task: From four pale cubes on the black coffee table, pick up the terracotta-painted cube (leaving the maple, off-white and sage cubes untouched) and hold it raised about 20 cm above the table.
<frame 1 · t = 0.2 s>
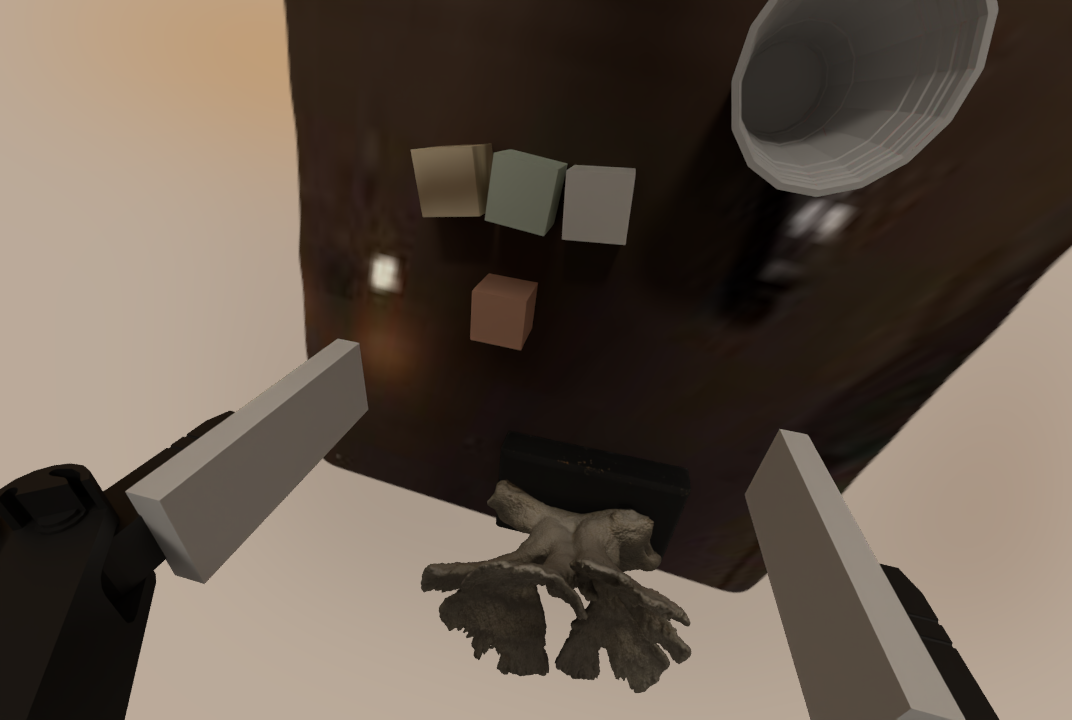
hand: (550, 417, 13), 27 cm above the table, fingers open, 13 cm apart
sage cube: (533, 187, 36), on the table
offwhite cube: (601, 198, 35), on the table
coral: (579, 466, 51), on the table
maple cube: (468, 176, 37), on the table
plastic cup: (779, 91, 29), on the table
terracotta cube: (511, 301, 42), on the table
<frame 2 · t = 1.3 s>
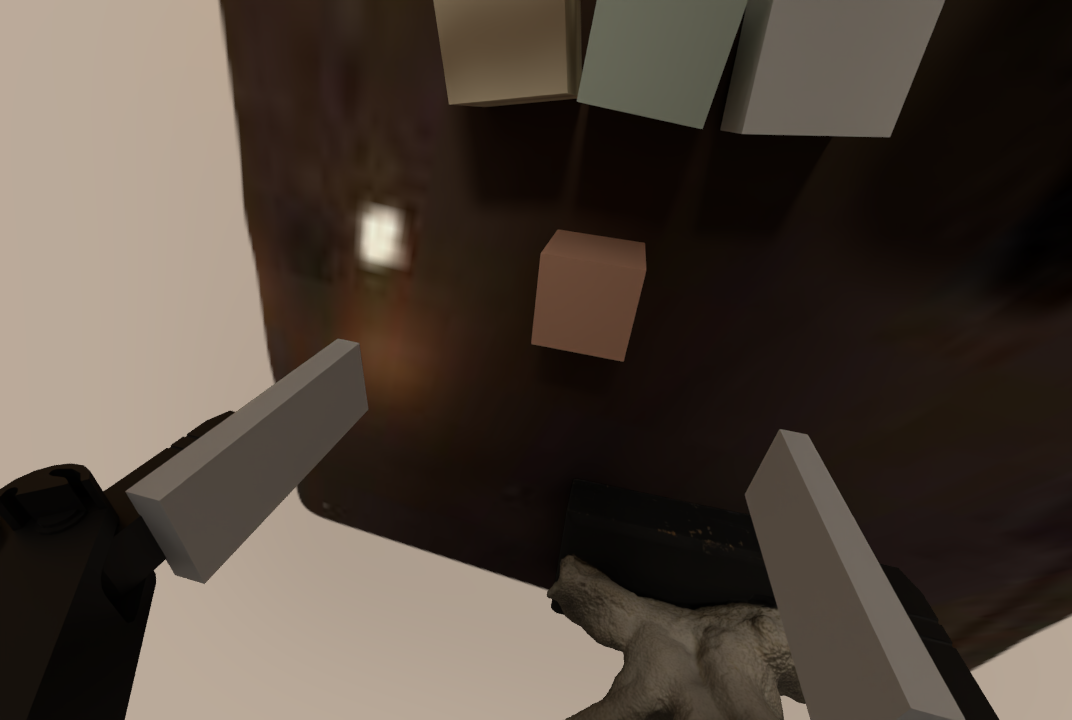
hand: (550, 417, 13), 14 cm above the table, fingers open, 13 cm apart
sage cube: (655, 53, 19), on the table
offwhite cube: (793, 66, 18), on the table
coral: (678, 529, 34), on the table
maple cube: (529, 41, 20), on the table
terracotta cube: (593, 277, 25), on the table
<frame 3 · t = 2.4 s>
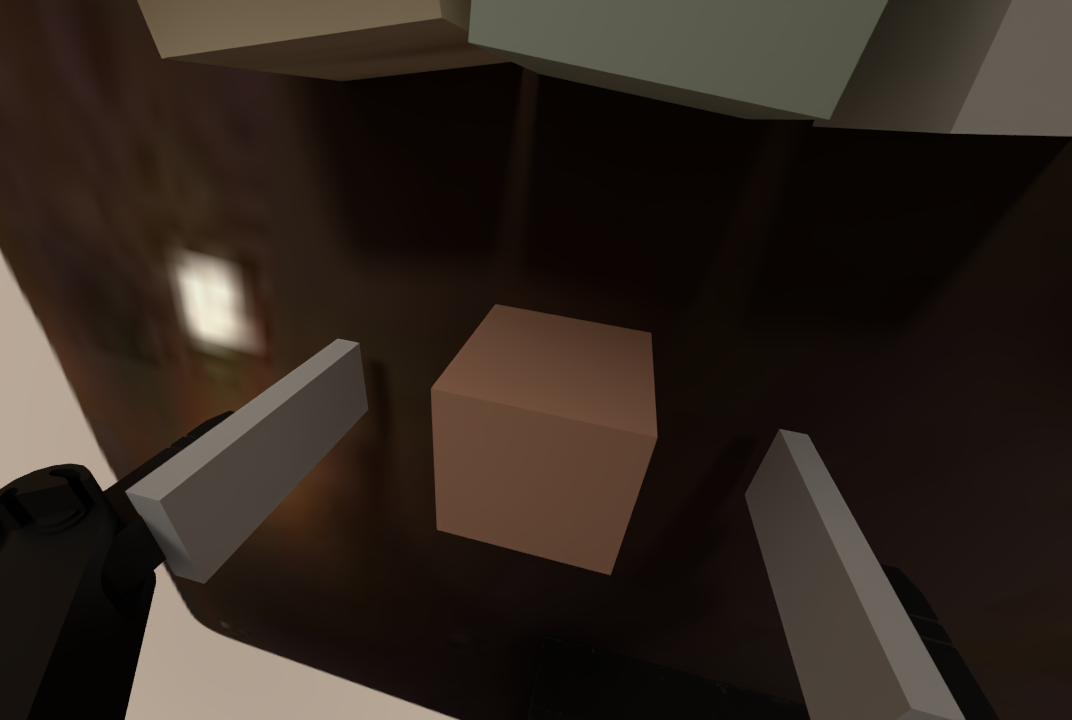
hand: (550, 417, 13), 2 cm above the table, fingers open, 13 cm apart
coral: (695, 703, 24), on the table
terracotta cube: (561, 381, 14), on the table
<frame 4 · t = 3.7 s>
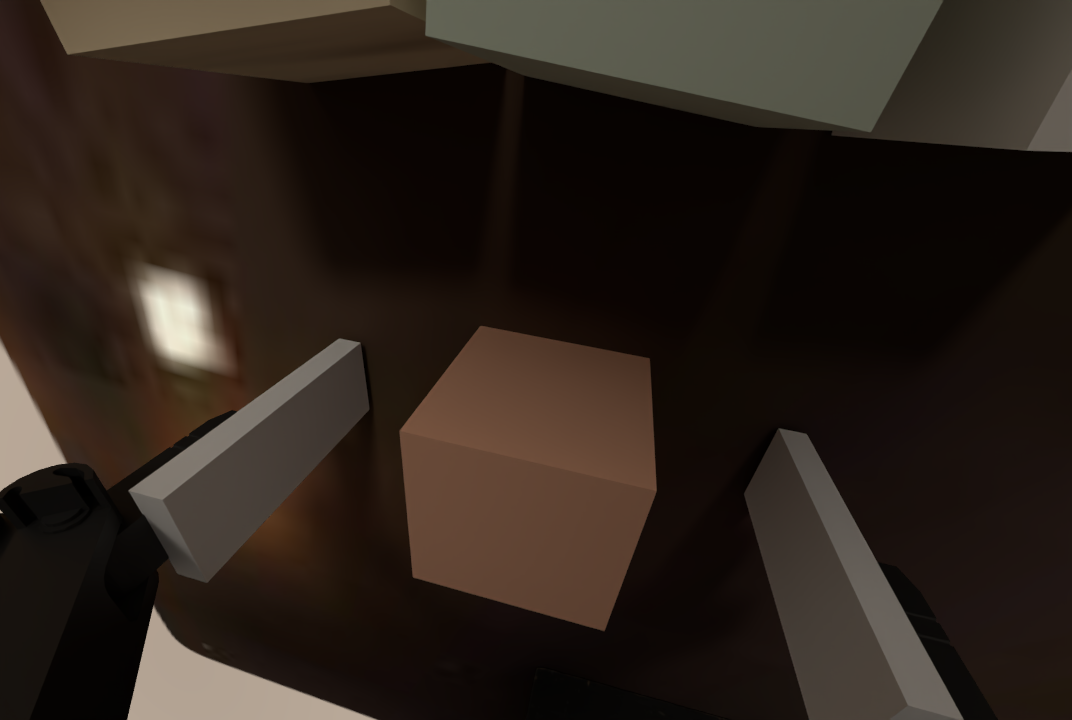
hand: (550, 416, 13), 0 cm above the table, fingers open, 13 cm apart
terracotta cube: (552, 407, 13), on the table
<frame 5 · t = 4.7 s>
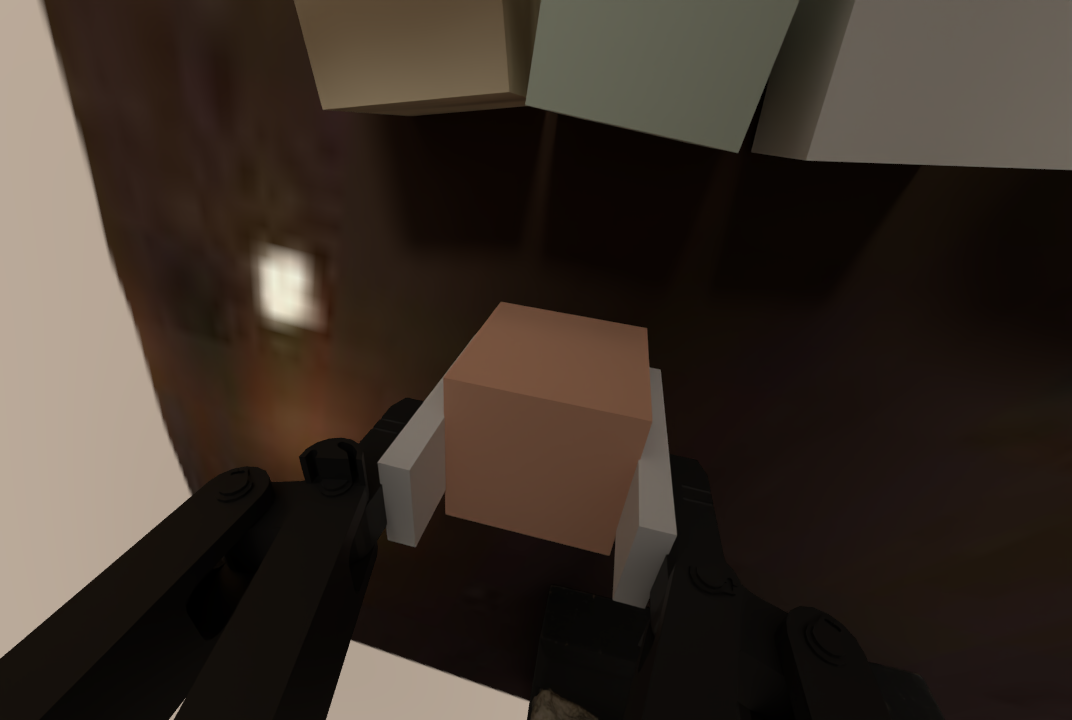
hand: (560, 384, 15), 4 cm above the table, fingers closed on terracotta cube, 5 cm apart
sage cube: (655, 37, 12), on the table
offwhite cube: (868, 57, 12), on the table
coral: (683, 646, 27), on the table
maple cube: (467, 19, 13), on the table
terracotta cube: (562, 376, 15), point 3 cm above the table, touching gripper
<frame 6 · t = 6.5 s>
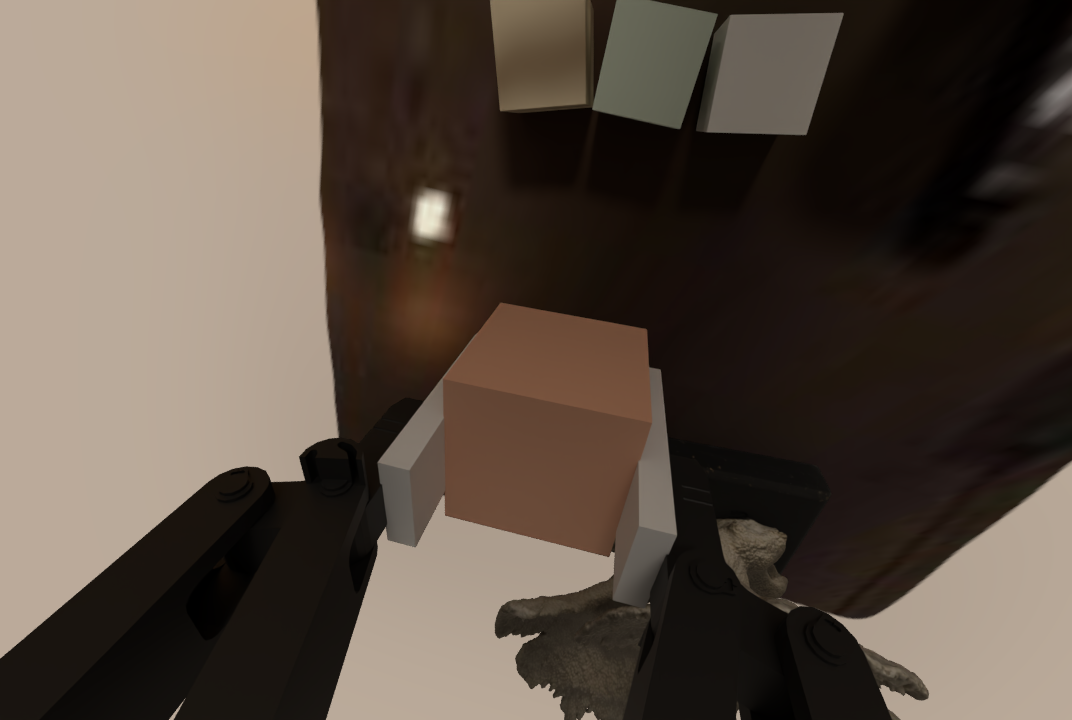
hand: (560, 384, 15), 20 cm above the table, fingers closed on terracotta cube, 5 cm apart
sage cube: (648, 74, 26), on the table
offwhite cube: (747, 85, 25), on the table
coral: (669, 465, 41), on the table
maple cube: (554, 65, 27), on the table
terracotta cube: (562, 377, 15), point 19 cm above the table, touching gripper
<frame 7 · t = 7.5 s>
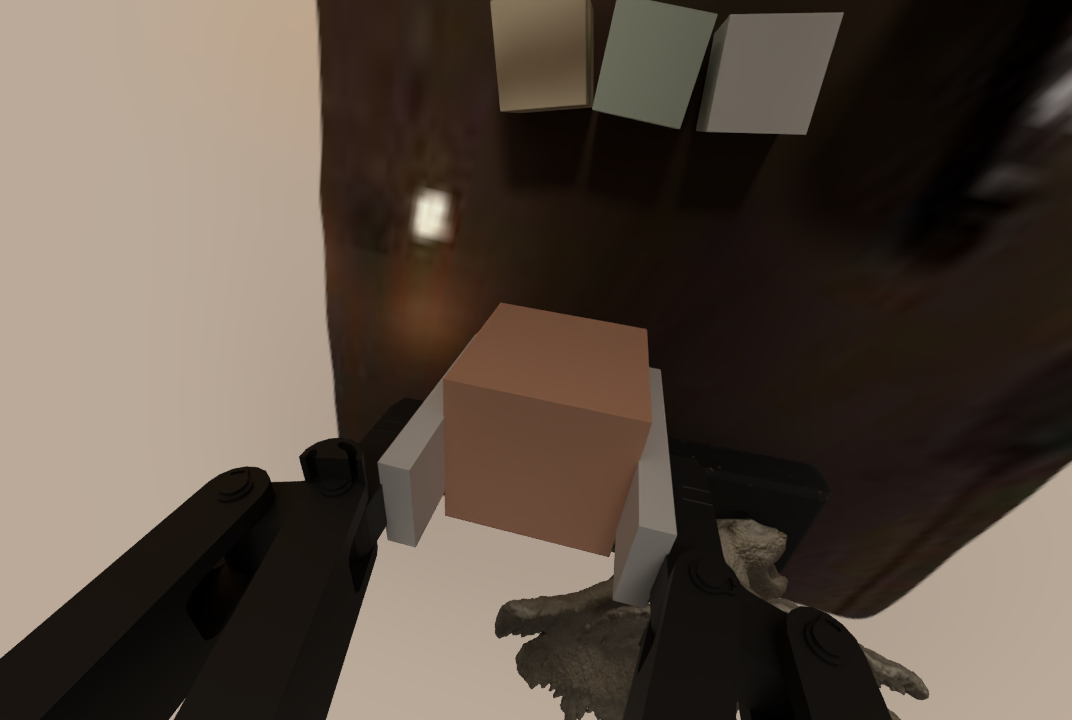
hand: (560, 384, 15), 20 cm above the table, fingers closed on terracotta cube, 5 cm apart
sage cube: (648, 74, 26), on the table
offwhite cube: (747, 85, 25), on the table
coral: (669, 465, 41), on the table
maple cube: (554, 65, 27), on the table
terracotta cube: (562, 377, 15), point 19 cm above the table, touching gripper
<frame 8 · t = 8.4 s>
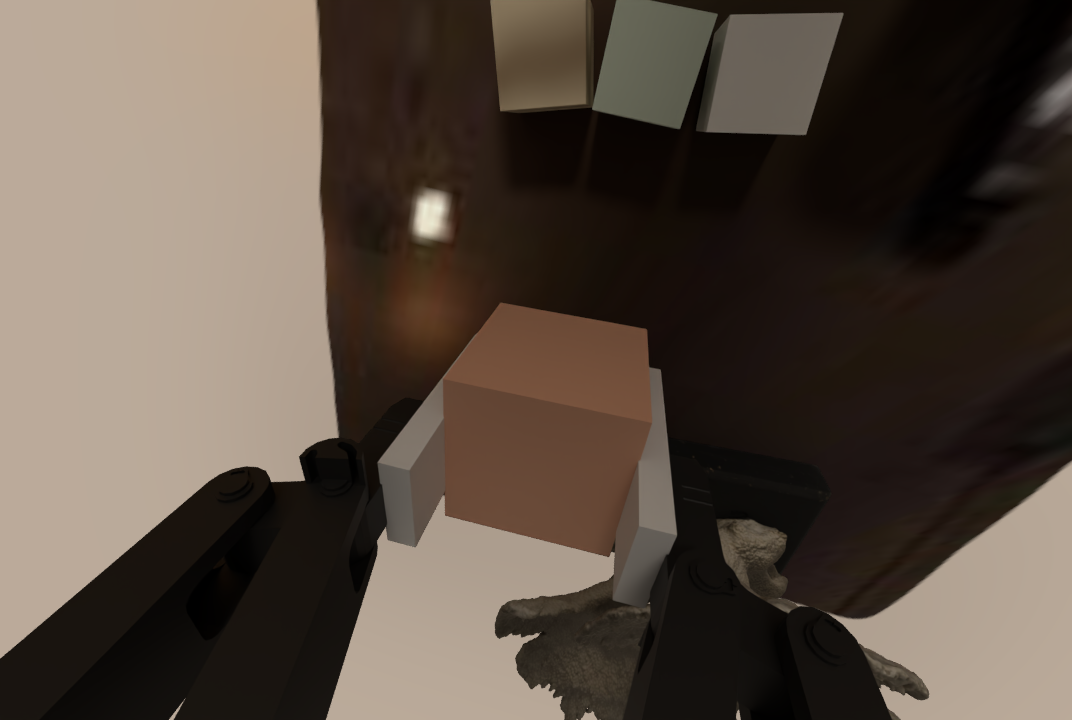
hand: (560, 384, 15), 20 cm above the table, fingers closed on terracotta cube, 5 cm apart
sage cube: (648, 74, 26), on the table
offwhite cube: (747, 85, 25), on the table
coral: (669, 465, 41), on the table
maple cube: (554, 65, 27), on the table
terracotta cube: (562, 377, 15), point 19 cm above the table, touching gripper
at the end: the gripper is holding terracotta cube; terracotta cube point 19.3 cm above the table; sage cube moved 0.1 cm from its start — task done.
